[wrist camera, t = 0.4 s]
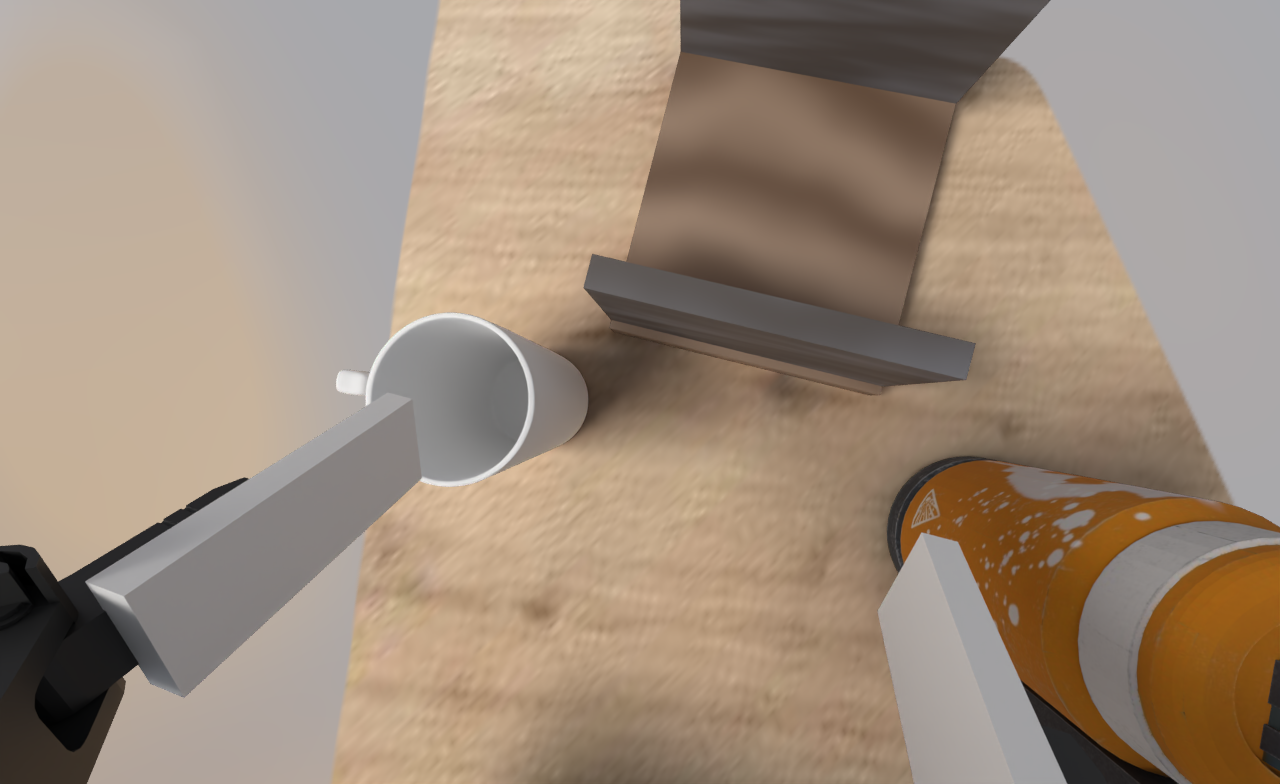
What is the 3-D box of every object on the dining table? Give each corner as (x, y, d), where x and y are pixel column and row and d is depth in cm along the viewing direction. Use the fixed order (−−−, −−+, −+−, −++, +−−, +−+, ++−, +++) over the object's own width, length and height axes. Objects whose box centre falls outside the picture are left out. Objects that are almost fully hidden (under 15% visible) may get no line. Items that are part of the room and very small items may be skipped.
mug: (601, 356, 30) (547, 325, 18) (585, 461, 30) (519, 501, 18) (449, 333, 31) (302, 290, 19) (433, 436, 31) (276, 457, 19)
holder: (870, 395, 28) (962, 392, 19) (613, 331, 30) (580, 298, 21) (949, 86, 28) (1082, -71, 19) (688, 38, 30) (691, -131, 20)
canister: (1056, 471, 27) (2040, 654, 8) (1022, 661, 27) (1920, 1346, 8) (896, 441, 28) (1403, 535, 8) (862, 625, 28) (1291, 1158, 8)
